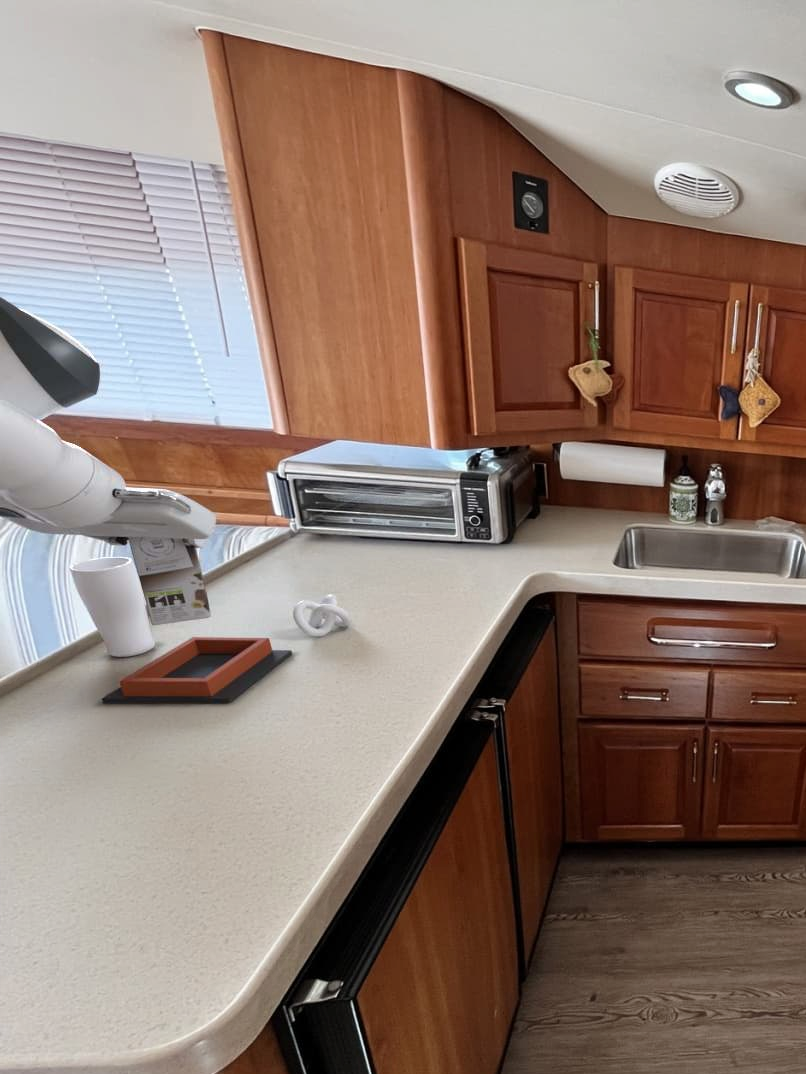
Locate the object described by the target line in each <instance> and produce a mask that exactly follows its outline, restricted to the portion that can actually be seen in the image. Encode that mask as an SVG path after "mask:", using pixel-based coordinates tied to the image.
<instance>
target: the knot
mask: <svg viewBox="0 0 806 1074" xmlns="http://www.w3.org/2000/svg"><path fill="white" fill-rule="evenodd" d="M338 603H339V601H338V598H337V596H336V595H335V594H332V593H330V594H327V595H326V596H325V597H324V598H323V599H322V600H321V602H320V603H318V602H316V601H313V600H309V599H308V600H307V599H305V600H301V601H299V602H298V603H296V604H295V605H294V607H293V610H292V617H293V620H294V623H295V625H296V626H297V627H298V629H299V630H301V631H302V632H303V633H304V634H306V635H308V636H311V637H315V638H319V637H324V636H326V635H327V634H329V633H331V631H332V629H333V628H334V626H337V627H341V628H345V627H349V626H350V625H351V624H352V621H353V620H352V616H351V614H350V613H349V612H348V611H346V610H345V609H344V608H342V607H341V606H338ZM306 609H309V610H311V613H310V615H309V620H308V621H307V620H306V617H305V610H306ZM323 619H324V622H323V624H322V626H321V627H319V626H320V625H321V623H322V621H323Z"/></svg>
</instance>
